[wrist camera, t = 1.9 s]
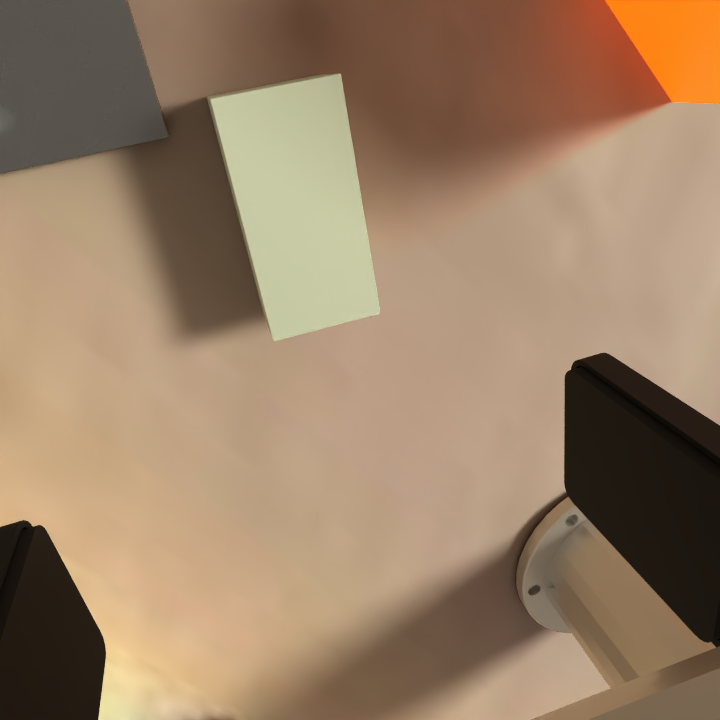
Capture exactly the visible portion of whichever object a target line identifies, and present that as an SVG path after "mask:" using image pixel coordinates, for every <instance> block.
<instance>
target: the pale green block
mask: <svg viewBox="0 0 720 720" xmlns="http://www.w3.org/2000/svg"><path fill="white" fill-rule="evenodd" d="M207 100H208V104H209V108H210V112H211V115H212V119H213V123H214V127H215V131H216V135H217V138H218V142H219V146H220V150H221V154H222V157H223V161H224V165H225V169H226V173H227V176H228V180H229V184H230V188H231V192H232V195H233V199H234V203H235V207H236V211H237V214H238V218H239V222H240V226H241V230H242V233H243V237H244V241H245V245H246V249H247V253H248V256H249V260H250V264H251V268H252V272H253V275H254V279H255V283H256V287H257V291H258V294H259V298H260V302H261V306H262V310H263V313H264V316H265V318H266V321H267V324H268V327H269V330H270V333H271V336H272V339H273V342H274V341H278V340H281V339H285V338H289V337H293V336H297V335H300V334H304V333H308V332H312V331H315V330H319V329H323V328H327V327H331V326H334V325H338V324H342V323H346V322H349V321H353V320H357V319H361V318H365V317H368V316H372V315H376V314H380V308H379V301H378V295H377V289H376V283H375V277H374V271H373V265H372V259H371V253H370V247H369V241H368V235H367V229H366V223H365V217H364V211H363V205H362V199H361V193H360V187H359V181H358V175H357V168H356V162H355V156H354V150H353V144H352V138H351V132H350V126H349V120H348V114H347V108H346V102H345V96H344V90H343V84H342V78H341V74H324V75H315V76H310V77H305V78H300V79H295V80H290V81H284V82H279V83H274V84H269V85H264V86H259V87H254V88H249V89H243V90H238V91H233V92H228V93H223V94H218V95H213V96H207Z"/></svg>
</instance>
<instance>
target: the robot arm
mask: <svg viewBox="0 0 720 720" xmlns="http://www.w3.org/2000/svg"><path fill="white" fill-rule="evenodd" d="M564 483H565V489H566V492H567V494H568V496H569V497H567V498H566V499H564V500H563V501H561V502H560V503H559V504H558V505H557V506H556V507H555V508H554V509H553V510H551V511H550V512H549V513H548V514H547V515H546V516H545V517H544V519H543V520H542V521H541V522H540V523H539V525H538V526H537V527H536V528H535V530H534V531H533V533H532V534H531V536H530V538H529V539H528V541H527V542H526V544H525V547H524V549H523V551H522V554H521V556H520V559H519V563H518V568H517V572H516V587H517V591H518V594H519V598H520V600H521V601H522V603H523V605H524V606H525V608H526V610H527V611H528V613H529V614H530V615H531V616H532V618H533V619H534V620H535V621H536V622H537V623H539V624H540V625H542V626H544V627H545V628H547V629H551V630H554V631H557V632H563V633H572V634H573V636H574V637H575V638H576V640H577V641H578V643H579V644H580V645H581V647H582V648H583V650H584V651H585V653H586V654H587V655H588V657H589V658H590V660H591V661H592V663H593V664H594V665H595V667H596V668H597V670H598V671H599V673H600V674H601V675H602V677H603V678H604V680H605V681H606V682H607V684H608V685H609V687H610V688H611V689H608V690H606V691H603V692H601V693H598V694H596V695H593V696H590V697H588V698H585V699H583V700H580V701H578V702H575V703H573V704H570V705H567V706H565V707H562V708H560V709H557V710H555V711H552V712H550V713H547V714H545V715H542V716H540V717H537V718H534V719H532V720H720V426H719V425H718V424H716V423H715V422H713V421H712V420H710V419H709V418H707V417H705V416H704V415H702V414H701V413H699V412H698V411H696V410H695V409H693V408H692V407H690V406H688V405H687V404H685V403H684V402H682V401H681V400H679V399H678V398H676V397H675V396H673V395H671V394H670V393H668V392H667V391H665V390H664V389H662V388H661V387H659V386H658V385H656V384H654V383H653V382H651V381H650V380H648V379H647V378H645V377H644V376H642V375H640V374H639V373H637V372H636V371H634V370H633V369H631V368H630V367H628V366H627V365H625V364H623V363H622V362H620V361H619V360H617V359H616V358H614V357H613V356H611V355H609V354H607V353H600V354H597V355H593V356H590V357H586V358H583V359H580V360H576V361H575V362H574V363H573V365H572V367H571V370H569V371H568V372H567V373H566V375H565V455H564ZM105 658H106V651H105V643H104V639H103V636H102V634H101V632H100V630H99V628H98V626H97V624H96V623H95V621H94V619H93V617H92V615H91V613H90V611H89V609H88V608H87V606H86V604H85V602H84V600H83V598H82V596H81V595H80V593H79V591H78V589H77V587H76V585H75V583H74V581H73V580H72V578H71V576H70V574H69V572H68V570H67V568H66V566H65V565H64V563H63V561H62V559H61V557H60V555H59V553H58V551H57V550H56V548H55V546H54V544H53V542H52V540H51V538H50V537H49V535H48V533H47V531H46V530H45V528H44V527H43V526H41V525H38V526H34V527H33V526H32V525H31V524H30V523H29V522H28V521H24V520H23V521H19V522H16V523H12V524H9V525H5V526H2V527H0V720H98V716H99V708H100V700H101V692H102V683H103V675H104V667H105Z"/></svg>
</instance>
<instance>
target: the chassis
mask: <svg viewBox="0 0 720 720" xmlns="http://www.w3.org/2000/svg"><path fill="white" fill-rule="evenodd" d="M167 137H169V133H168V130H167V127H166V124H165V120H164V117H163V114H162V111H161V107H160V104H159V101H158V98H157V95H156V91H155V88H154V85H153V82H152V78H151V75H150V72H149V69H148V65H147V62H146V59H145V56H144V52H143V49H142V46H141V43H140V39H139V36H138V33H137V30H136V27H135V23H134V20H133V17H132V14H131V10H130V7H129V4H128V1H127V0H0V174H1V173H6V172H10V171H15V170H19V169H24V168H29V167H33V166H38V165H43V164H47V163H52V162H56V161H61V160H66V159H70V158H75V157H80V156H84V155H89V154H93V153H98V152H103V151H107V150H112V149H117V148H121V147H126V146H130V145H135V144H140V143H144V142H149V141H154V140H158V139H163V138H167Z"/></svg>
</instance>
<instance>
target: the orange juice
mask: <svg viewBox="0 0 720 720" xmlns="http://www.w3.org/2000/svg"><path fill="white" fill-rule="evenodd" d="M605 1H606V3H607V4H608V6H609V7H610V9H611V10H612V12H613V13H614V15H615V16H616V18H617V19H618V21H619V22H620V24H621V25H622V27H623V28H624V30H625V31H626V33H627V34H628V36H629V37H630V39H631V40H632V42H633V43H634V45H635V46H636V48H637V49H638V51H639V52H640V54H641V55H642V57H643V58H644V60H645V61H646V63H647V65H648V66H649V68H650V69H651V71H652V72H653V74H654V75H655V77H656V78H657V80H658V81H659V83H660V84H661V86H662V87H663V89H664V90H665V92H666V93H667V95H668V96H669V98H670V99H671V101H672V102H689V103H713V104H720V0H605Z"/></svg>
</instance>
